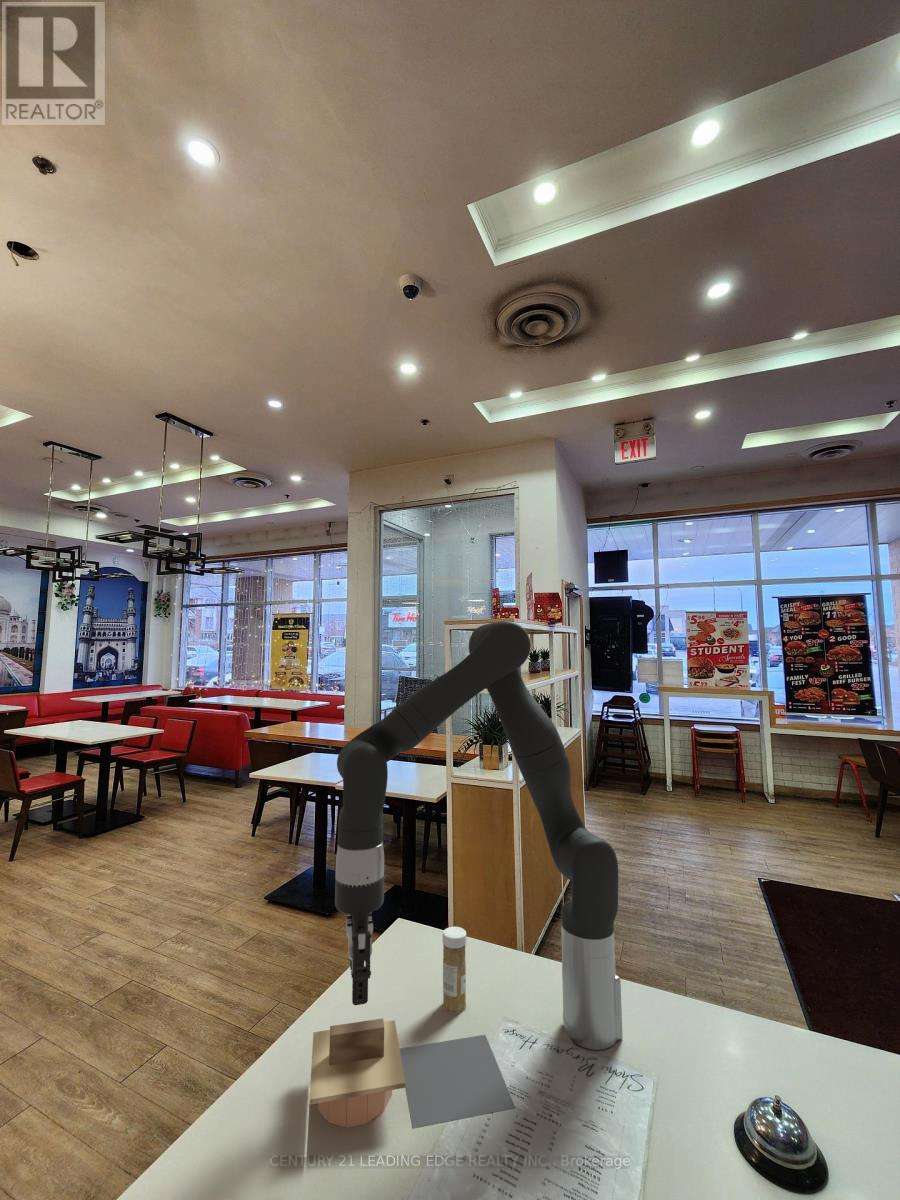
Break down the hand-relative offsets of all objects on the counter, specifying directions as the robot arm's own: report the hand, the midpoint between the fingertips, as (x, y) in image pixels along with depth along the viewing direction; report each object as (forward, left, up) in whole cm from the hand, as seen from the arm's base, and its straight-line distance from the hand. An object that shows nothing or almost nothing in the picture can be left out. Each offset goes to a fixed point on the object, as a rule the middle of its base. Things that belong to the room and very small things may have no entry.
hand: (358, 985), depth 78 cm
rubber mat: (-15, 0, -15) cm, 21 cm away
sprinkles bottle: (-19, -16, -16) cm, 29 cm away
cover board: (0, 0, -10) cm, 10 cm away
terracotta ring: (0, 0, -15) cm, 15 cm away
